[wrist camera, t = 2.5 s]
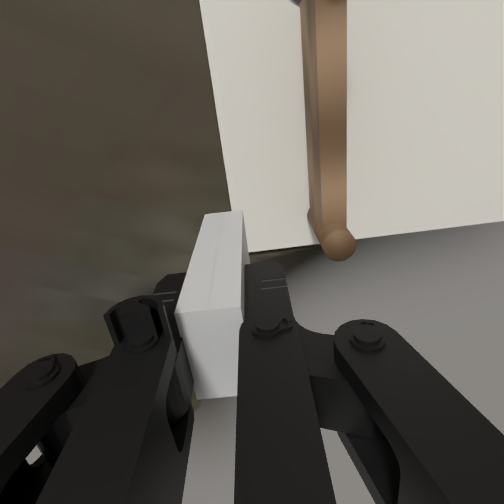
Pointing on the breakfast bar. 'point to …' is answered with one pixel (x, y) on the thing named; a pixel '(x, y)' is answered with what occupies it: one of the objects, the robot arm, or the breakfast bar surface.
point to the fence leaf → (326, 122)
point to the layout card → (364, 115)
